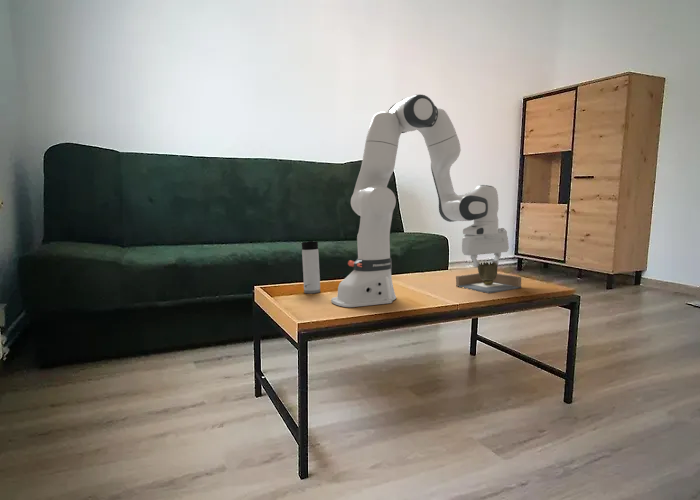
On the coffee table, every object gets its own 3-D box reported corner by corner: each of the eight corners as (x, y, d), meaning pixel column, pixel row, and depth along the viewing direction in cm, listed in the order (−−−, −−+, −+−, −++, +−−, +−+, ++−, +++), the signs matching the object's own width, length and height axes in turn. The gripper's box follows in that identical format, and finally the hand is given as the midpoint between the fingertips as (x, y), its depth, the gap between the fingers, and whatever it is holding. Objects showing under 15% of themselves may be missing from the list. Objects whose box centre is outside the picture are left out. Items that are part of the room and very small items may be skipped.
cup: (500, 285, 169) (499, 264, 168) (480, 286, 169) (479, 265, 168) (496, 281, 176) (495, 261, 175) (476, 282, 177) (475, 262, 176)
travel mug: (305, 294, 172) (302, 241, 170) (303, 291, 179) (300, 240, 177) (321, 293, 173) (319, 240, 171) (319, 290, 180) (316, 239, 178)
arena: (488, 293, 160) (488, 282, 160) (456, 286, 175) (456, 276, 175) (521, 287, 167) (521, 277, 167) (487, 281, 182) (487, 271, 182)
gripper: (500, 227, 178) (500, 262, 180) (459, 229, 169) (459, 267, 170) (512, 227, 173) (512, 264, 174) (471, 230, 163) (471, 268, 165)
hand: (485, 265), depth 172 cm, fingers open, 8 cm apart
